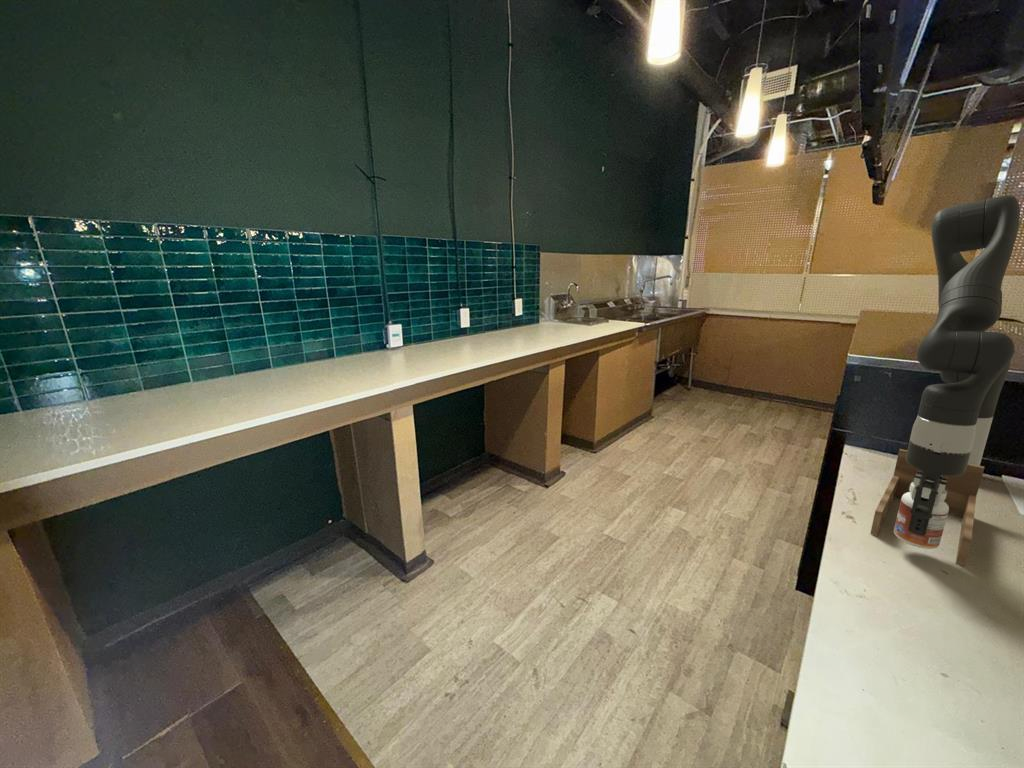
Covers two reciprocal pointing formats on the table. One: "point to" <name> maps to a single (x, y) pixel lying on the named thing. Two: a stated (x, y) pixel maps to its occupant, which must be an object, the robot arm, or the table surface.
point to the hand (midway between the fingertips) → (919, 525)
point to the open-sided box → (957, 499)
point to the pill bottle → (934, 525)
